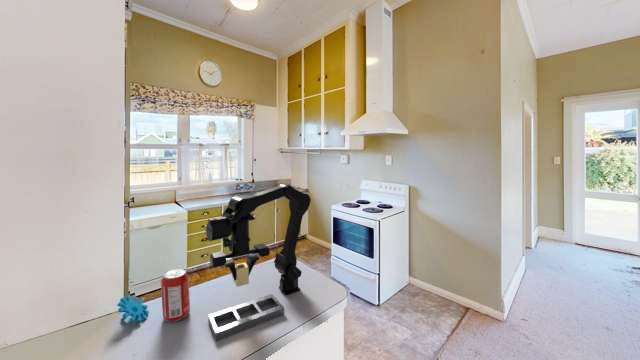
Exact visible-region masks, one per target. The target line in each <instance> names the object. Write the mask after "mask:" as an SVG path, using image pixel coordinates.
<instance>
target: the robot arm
mask: <svg viewBox="0 0 640 360" xmlns="http://www.w3.org/2000/svg"><path fill="white" fill-rule="evenodd" d="M281 198H285V199H287V200H288V207H289V212H290V216H289V220H288V224H287V227H286V233H285V236H284V237H285V238H284V242H283V244H282V245H283V246H282V249H281V250H280V251H279V252H276V253H275V258H274V260H273V263H274V268H275V270H277V271H278V273H279V274H280V279H279V287H278V289H280V291H282V292H281V293H283V294H284V295H285V296H287V295H290V294H293V293H296V292H299V291H300V290H301V288H300V287H299V278H300V277H302V270H301V269H299V268H298V267H297V261H298V259H297V255H296V248H297V245H298V239H299V236H300V235H299V234H300V231H301V225H302V220H303V217H304V215H305V214H306V213H307V211H308V210H309V208H310V205H311V197H310V195H309V194H308V193H305V192H302V191H300V190H298V189H296V188H294V187H293V186H291V185H290V184H286V183H281V184H279V185H278V186H274V187H271V188H268V189H266V190H263V191H260V192H256V193H254V194H244V195H243V194H242V195H241V194H240V195H236V196H233V197H230V200H229V202H228V205H227V207H226V209H225V210H224V211H223V213H222V215H221V217H213V218H212V217H211V218H208V220H207V223H206V225H205V226H206V227H205V235H206V239H207V240H208V242H213V241H218V240H222V248H228V250H229V251H230V252H229V253H224V251H221V250H220V251H217V252H211V253H210V255H209V262H210V264H211V266H212V268H218V267H225V268H229V271H230V274H231V277H232V279H233V282H234V281H235V280H236V271H235V265H236V263H235V262H234V260H235V259H238V258H242V257H246V264H247V266H248V267H249V276H250V274H251V272H252V270H253V268H254V266H255V265H256V263H257V262H258V261H259V260H260V258H264V257H268V256H270V248H269V247H268V245H266V244H265V243H258V244H254V245H253V248H250V242H251V238H250V222H251V221H254V220H256V218H255V217H254V216H253V215H252V214H251V213H253V212H255V210H257V208H258V207H260V206H262V205H266V204H267V203H270V202H273V201H275V200H279V199H281ZM229 237H230V238H229Z"/></svg>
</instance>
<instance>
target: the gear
mask: <svg viewBox="0 0 640 360" xmlns="http://www.w3.org/2000/svg"><path fill="white" fill-rule="evenodd" d="M131 299H132V300H131ZM138 299H139V297H137V296H133V298H132V295H127V296H126V297H125V296H123V297H121V298H120V299H119V302H118V303H117V306H118V307H119V308H118V310H117V311H118V313H122V315H121V316H122V317H121V318H120V319H119V320H120V322H122V321H123V322H124V321H125V320H126V319H127V318H128V317H130V318H129V319H128V321H129V322H132V323H133V322H134V321H135V322H136V323H141V322H142V321H144V320H146V319H147V318H148V316H147V315H148V314H149V313H150V311H149V309H148V307H149V306H148V304H145V305H144V302H145V301H144V300H145V298H144V297H141V298H140V299H139V300H138ZM137 300H138V301H137ZM147 309H148V310H147Z"/></svg>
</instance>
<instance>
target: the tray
mask: <svg viewBox="0 0 640 360" xmlns="http://www.w3.org/2000/svg"><path fill="white" fill-rule="evenodd" d="M269 305H272V306H273V307H271V308H269V309H265V310H262V309H261V308H263V307H267V306H269ZM249 312H253V313H254V314H253V315H249V316H247V317H244V318H241V317H240V315H243V314H246V313H249ZM284 315H285V307H284V306H283V305H282V304H281V302H280V301H279V300H278V299H277V297H275V296H274V294H272V293H271V294H267V295H265V296H264V295H263V296H261V297H259V298H255V299H252V300H249V301H246V302H243V303H239V304H237V305H234V306H232V307H228V308H226V309H222V310H218V311H216V312H213V313H209V314H208V325H209V327H210V329H211V332H212V335H213V337H214V340H215V342H218V341H220V340H223V339H225V338H228V337H230V336H233V335H236V334H238V333H240V332H243V331H246V330H248V329H251V328H253V327H256V326H259V325H261V324H263V323H266V322H269V321H271V320H274V319H277V318H279V317H281V316H284ZM229 319H233V322H231V323H227V324H225V325H223V326H219V327H218V325H217V324H218V323H221V322H224V321H227V320H229Z"/></svg>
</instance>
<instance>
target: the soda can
mask: <svg viewBox="0 0 640 360" xmlns="http://www.w3.org/2000/svg"><path fill="white" fill-rule="evenodd" d="M189 278H190V276H189V274H188V273H187V270H186V269H184V268H175V269H171V270H169V271H168V270H167V271H166V272H165V273H164V274H163V275H162V279H161V281H160V290H161V305H162V306H161V308H162V319H163V320H164V321H166V322H177V321H180V320H182V319H184V318H186V317H187V316H188V315H189V314H190V312H191V303H190V302H191V301H190V300H191V299H190V298H191V297H190V279H189Z"/></svg>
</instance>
